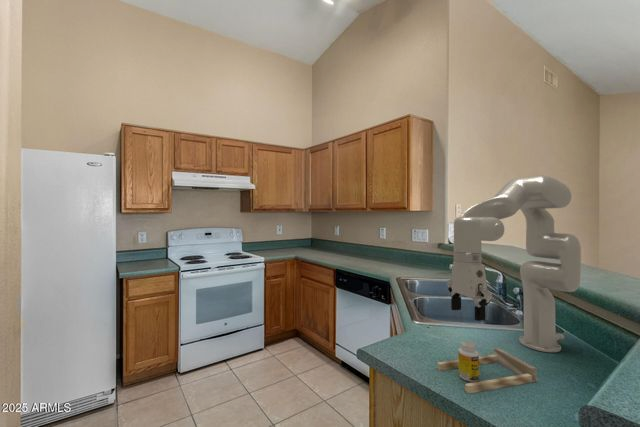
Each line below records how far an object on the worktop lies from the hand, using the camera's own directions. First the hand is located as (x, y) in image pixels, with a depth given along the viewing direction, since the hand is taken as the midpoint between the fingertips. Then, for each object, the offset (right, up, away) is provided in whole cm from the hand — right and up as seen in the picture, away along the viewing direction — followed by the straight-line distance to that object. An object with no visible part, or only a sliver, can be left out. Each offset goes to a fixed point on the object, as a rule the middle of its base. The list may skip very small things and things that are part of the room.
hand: (467, 314), depth 87 cm
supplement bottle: (0, -19, 0) cm, 19 cm away
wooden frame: (+6, -19, +1) cm, 20 cm away
